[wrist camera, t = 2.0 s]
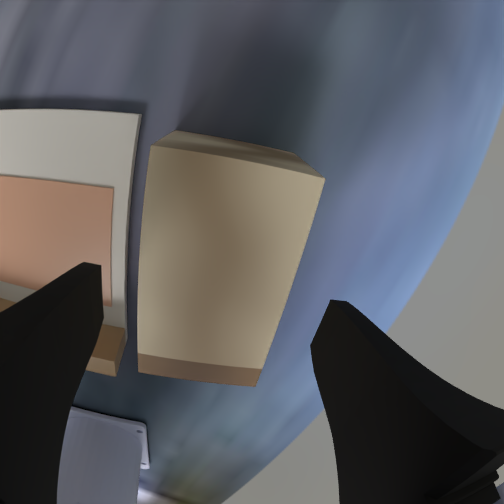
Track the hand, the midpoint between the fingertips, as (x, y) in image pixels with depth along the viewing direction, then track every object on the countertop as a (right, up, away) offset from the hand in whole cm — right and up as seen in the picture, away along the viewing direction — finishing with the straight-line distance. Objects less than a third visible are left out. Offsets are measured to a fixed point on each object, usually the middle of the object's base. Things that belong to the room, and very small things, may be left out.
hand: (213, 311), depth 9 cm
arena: (-11, +3, +3) cm, 12 cm away
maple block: (0, +2, +5) cm, 5 cm away
